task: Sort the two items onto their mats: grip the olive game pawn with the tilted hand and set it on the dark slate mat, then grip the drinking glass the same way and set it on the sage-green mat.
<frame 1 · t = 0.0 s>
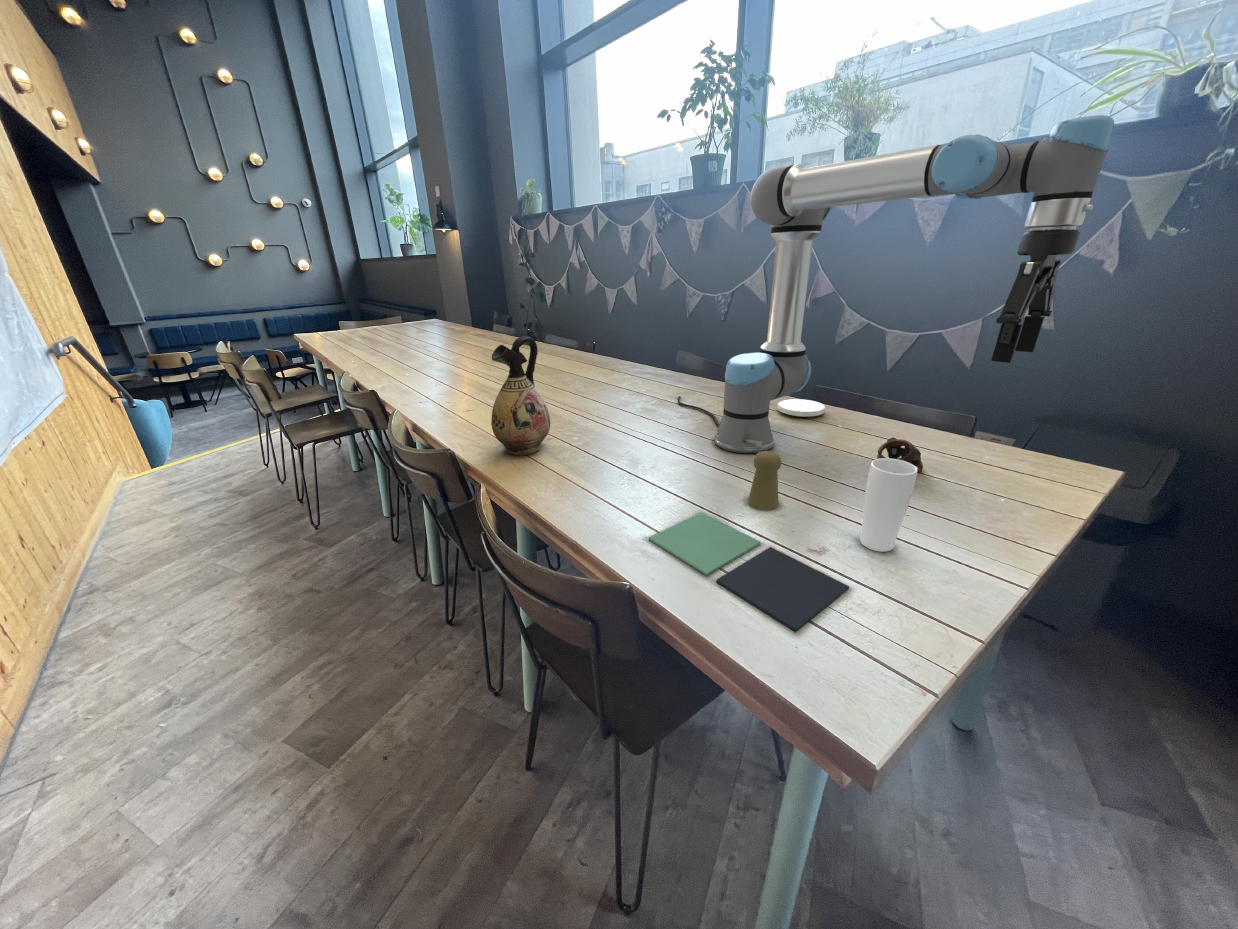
hand: (1012, 356, 88), 28 cm above the table, tool pointing down, fingers open, 13 cm apart
olive game pawn: (762, 503, 97), on the table
slate mat: (781, 585, 72), on the table
plastic lid: (800, 413, 150), on the table
drinking glass: (876, 545, 82), on the table
brown notched ring: (895, 469, 110), on the table
ceramic jug: (527, 449, 129), on the table
sage mat: (703, 542, 84), on the table
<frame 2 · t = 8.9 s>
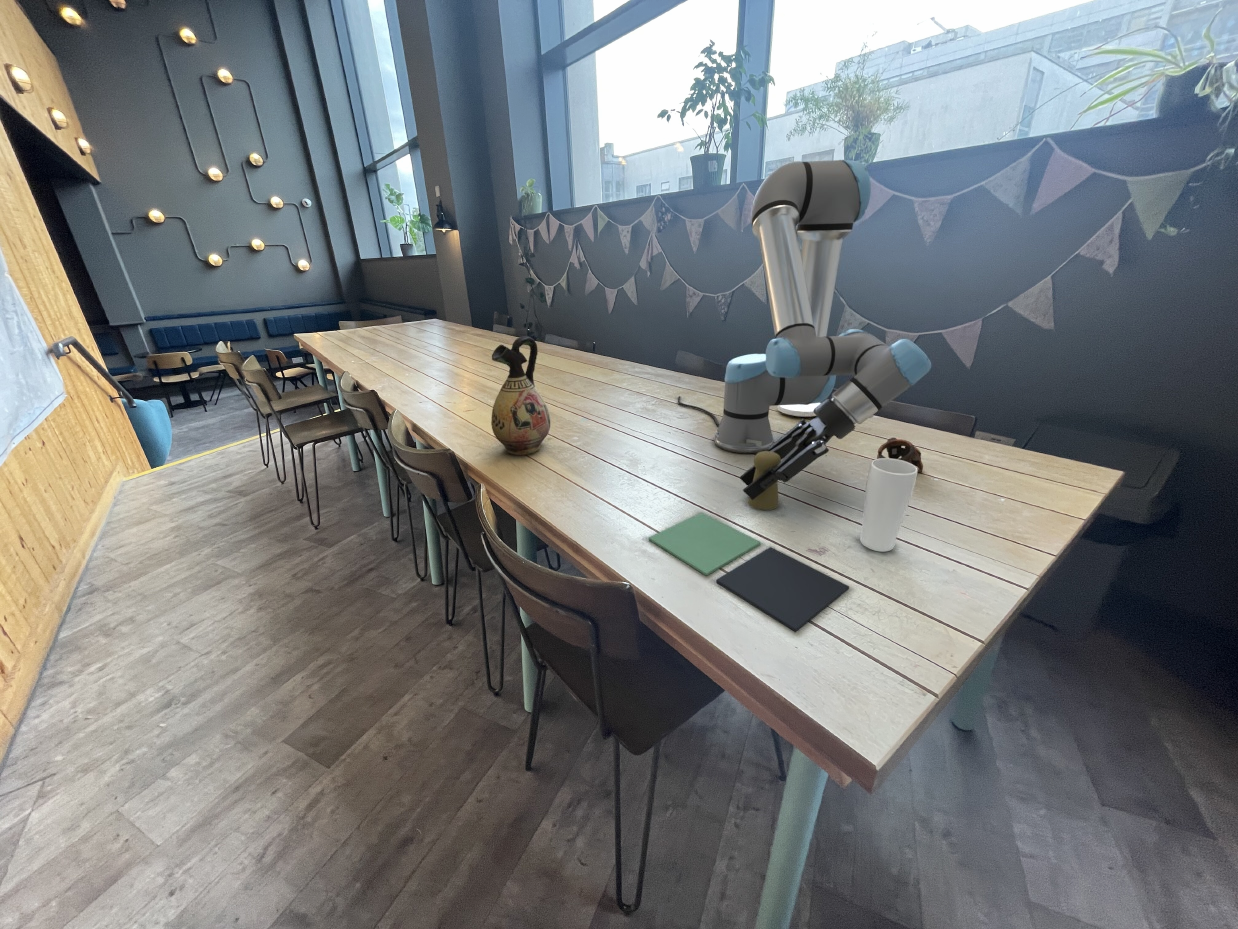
hand: (745, 488, 96), 3 cm above the table, tool tilted 45°, fingers closed on olive game pawn, 5 cm apart
olive game pawn: (763, 503, 97), on the table, touching gripper
everything else where it was.
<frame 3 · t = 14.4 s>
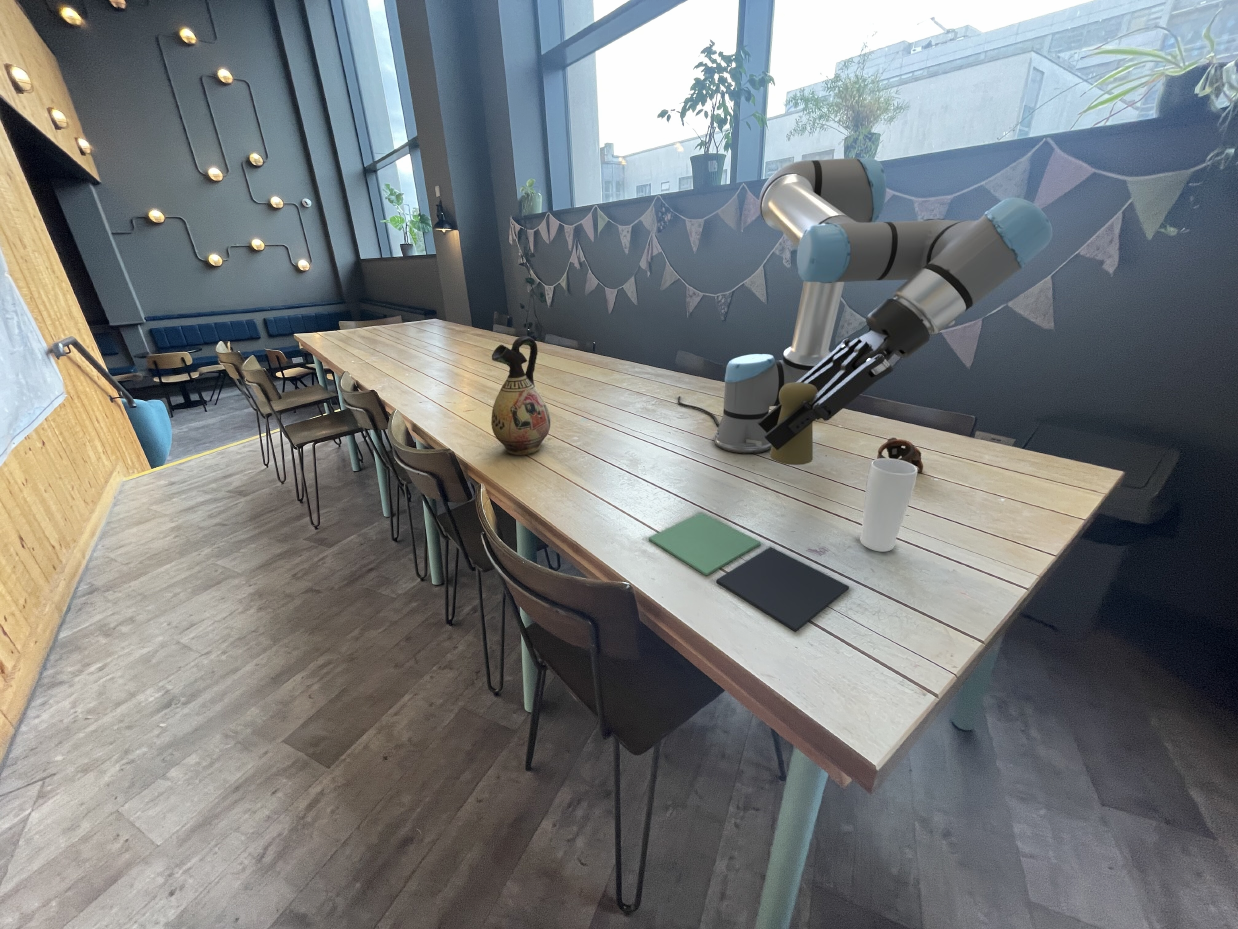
hand: (767, 435, 69), 23 cm above the table, tool tilted 45°, fingers closed on olive game pawn, 5 cm apart
olive game pawn: (790, 458, 70), point 19 cm above the table, touching gripper
everything else where it was.
when the fingers open (4 cm above the table, at t = 20.3 s): olive game pawn stays where it is, resting on slate mat.
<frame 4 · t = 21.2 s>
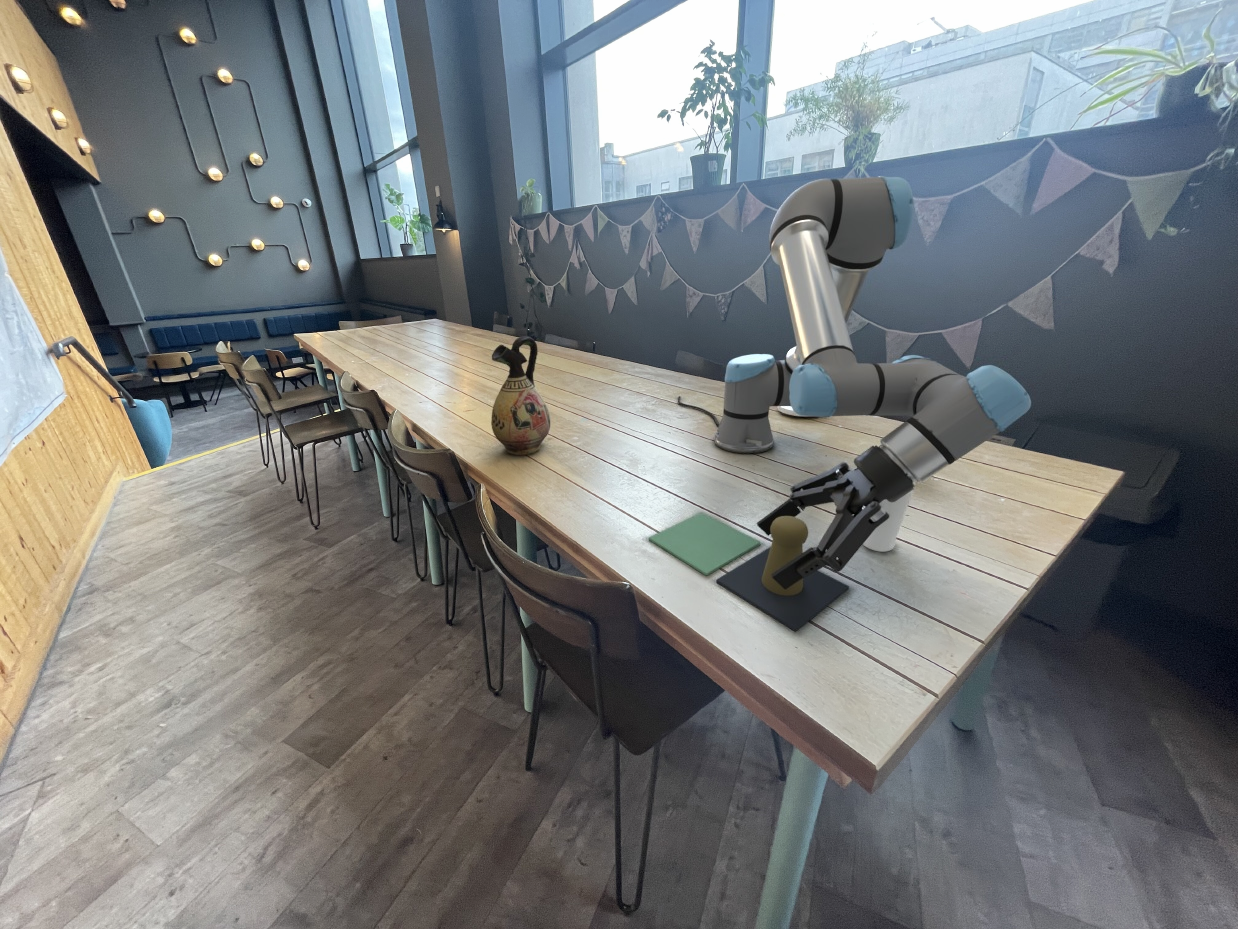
hand: (769, 553, 70), 6 cm above the table, tool tilted 45°, fingers open, 13 cm apart
olive game pawn: (781, 583, 72), resting on slate mat
everything else where it was.
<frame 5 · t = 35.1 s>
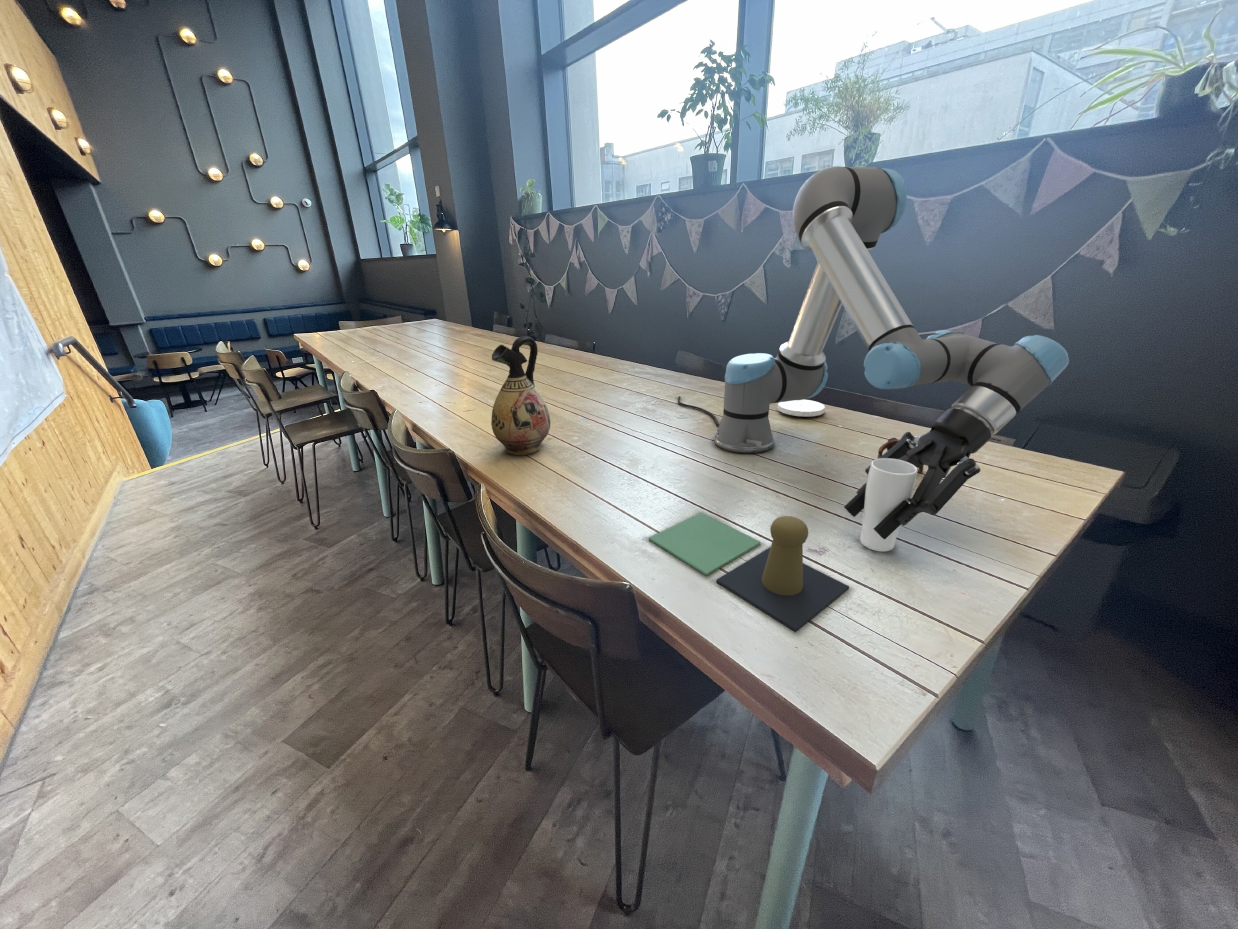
hand: (863, 522, 79), 5 cm above the table, tool tilted 45°, fingers closed on drinking glass, 7 cm apart
drinking glass: (876, 545, 82), on the table, touching gripper
everything else where it was.
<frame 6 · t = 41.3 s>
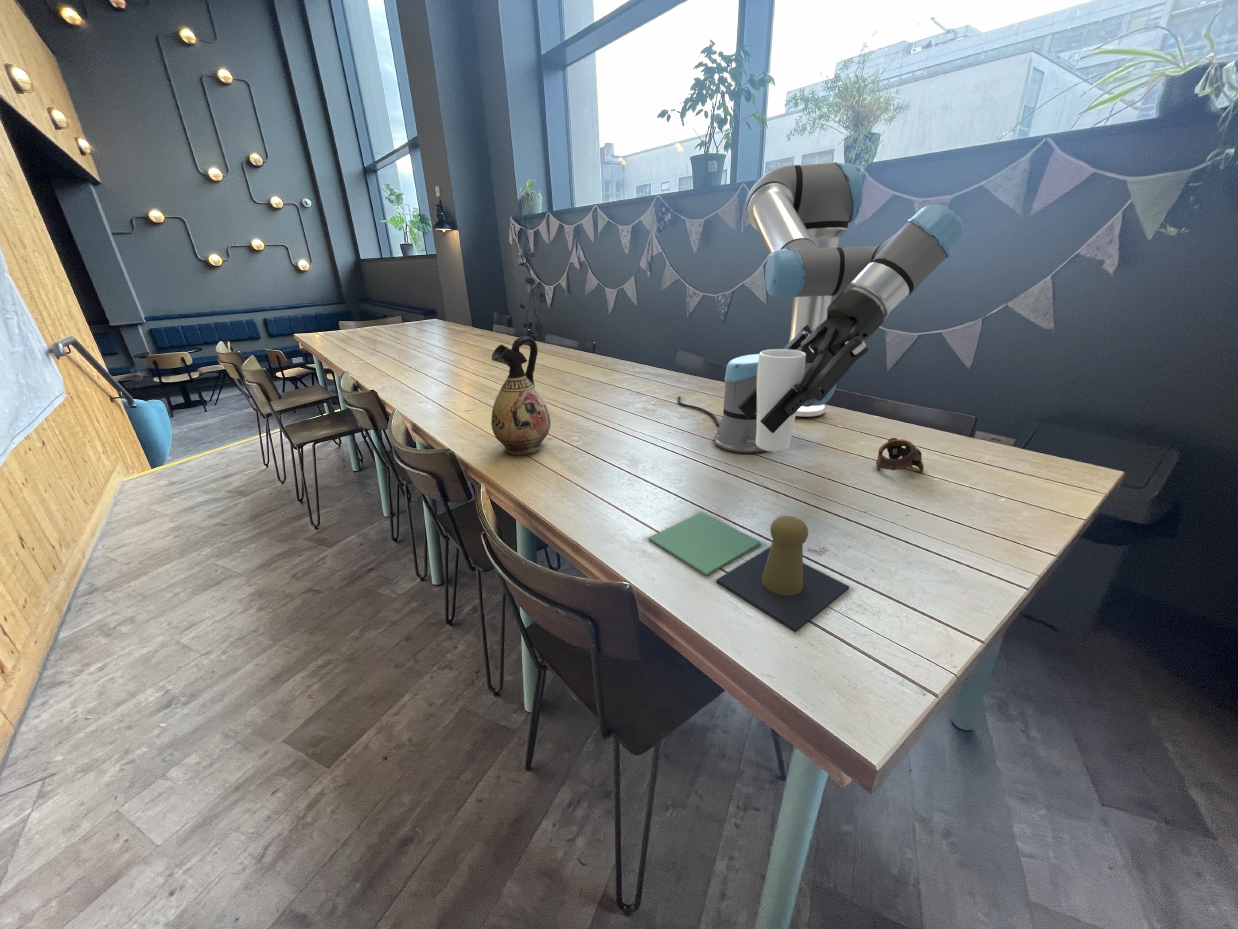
hand: (754, 419, 73), 23 cm above the table, tool tilted 45°, fingers closed on drinking glass, 7 cm apart
drinking glass: (772, 447, 76), point 18 cm above the table, touching gripper
everything else where it was.
when the fingers open (5 cm above the table, at t = 47.9 s): drinking glass stays where it is, resting on sage mat.
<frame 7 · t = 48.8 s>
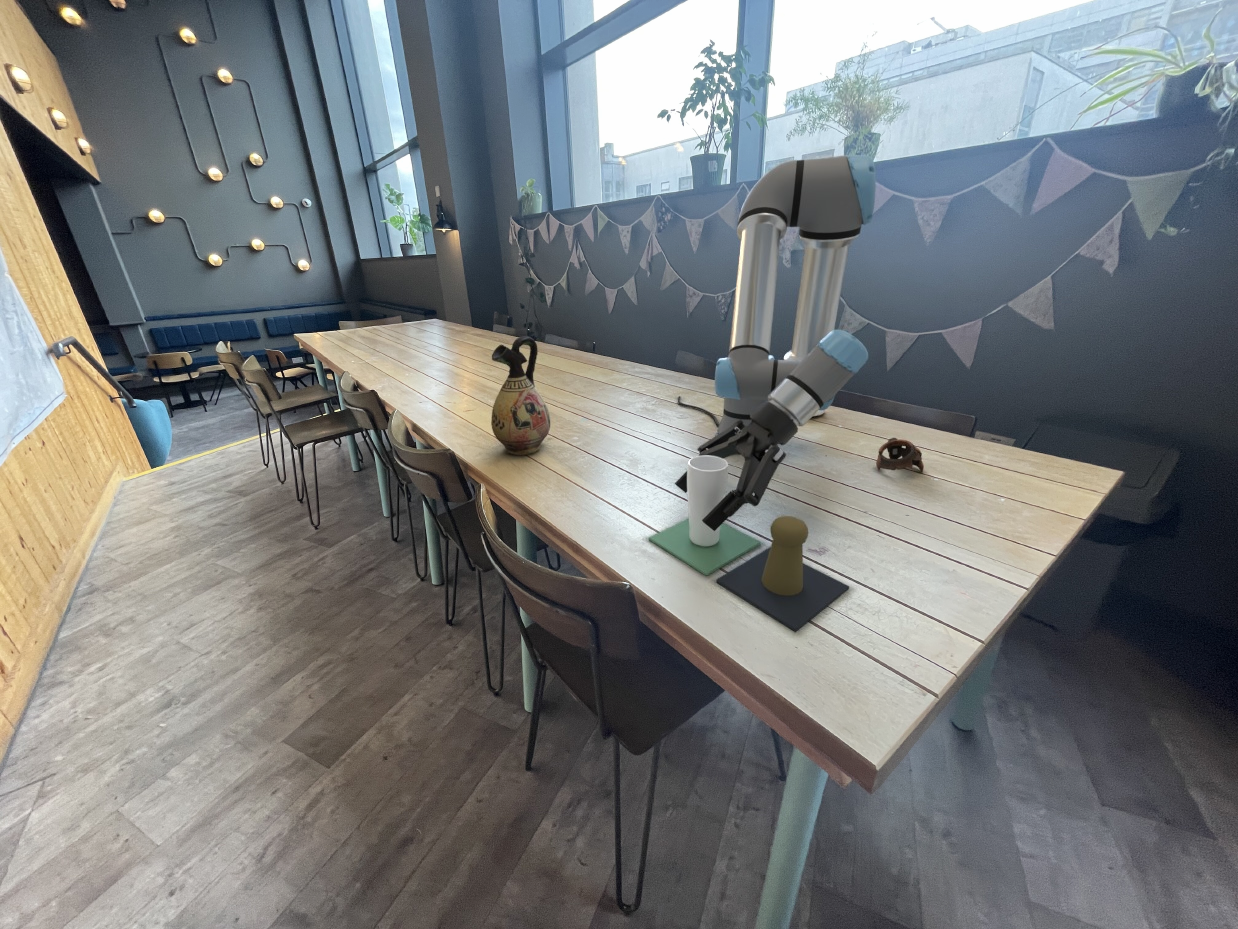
hand: (692, 505, 81), 8 cm above the table, tool tilted 45°, fingers open, 13 cm apart
drinking glass: (704, 540, 84), resting on sage mat
everything else where it was.
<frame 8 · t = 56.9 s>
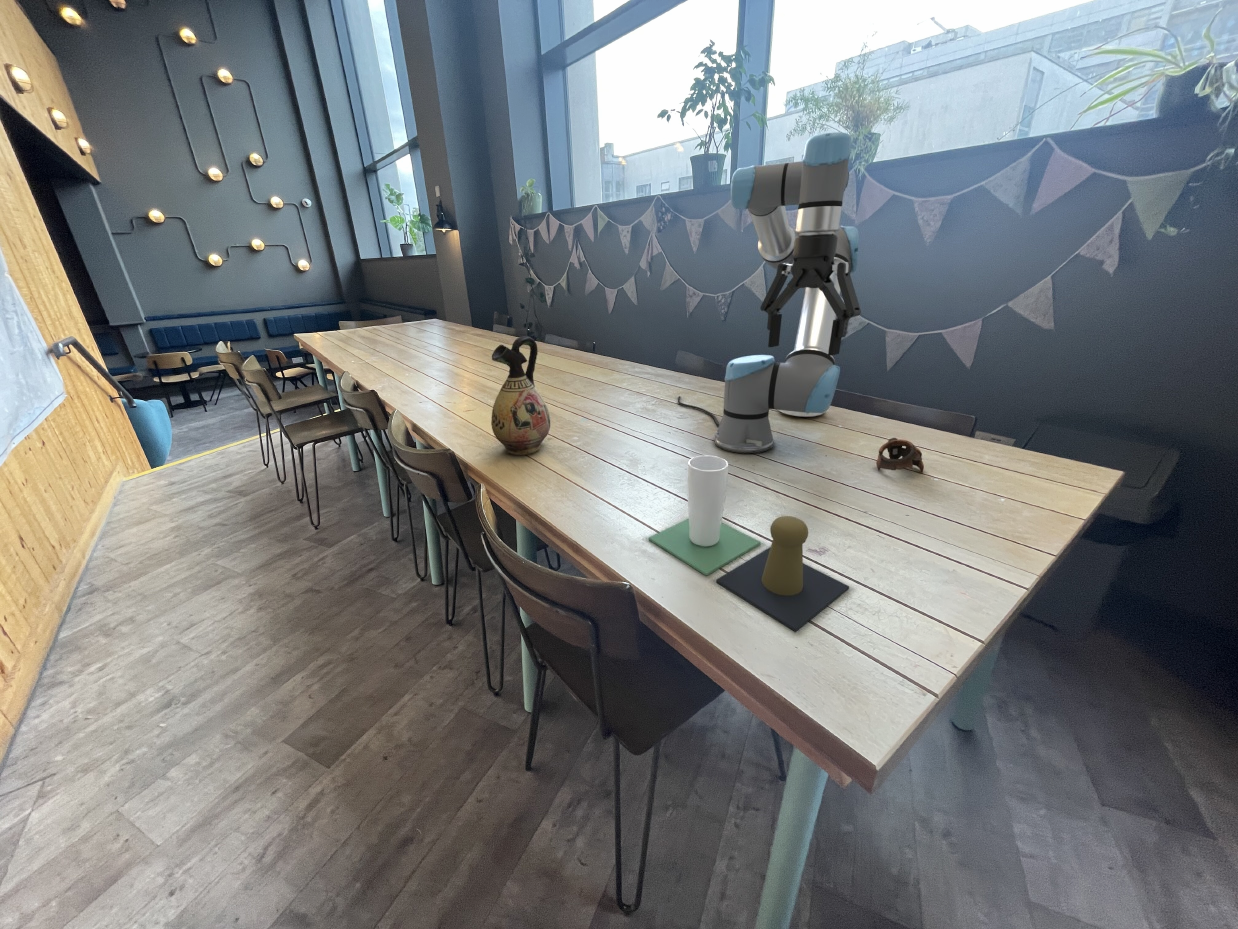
hand: (801, 350, 96), 29 cm above the table, tool pointing down, fingers open, 13 cm apart
nothing on the table moved.
at the end: olive game pawn inside the target area on the slate mat (0.0 cm from its centre), point 0.3 cm above the slate mat's base; drinking glass inside the target area on the sage mat (0.1 cm from its centre), point 0.3 cm above the sage mat's base; drinking glass tilted 0° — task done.
